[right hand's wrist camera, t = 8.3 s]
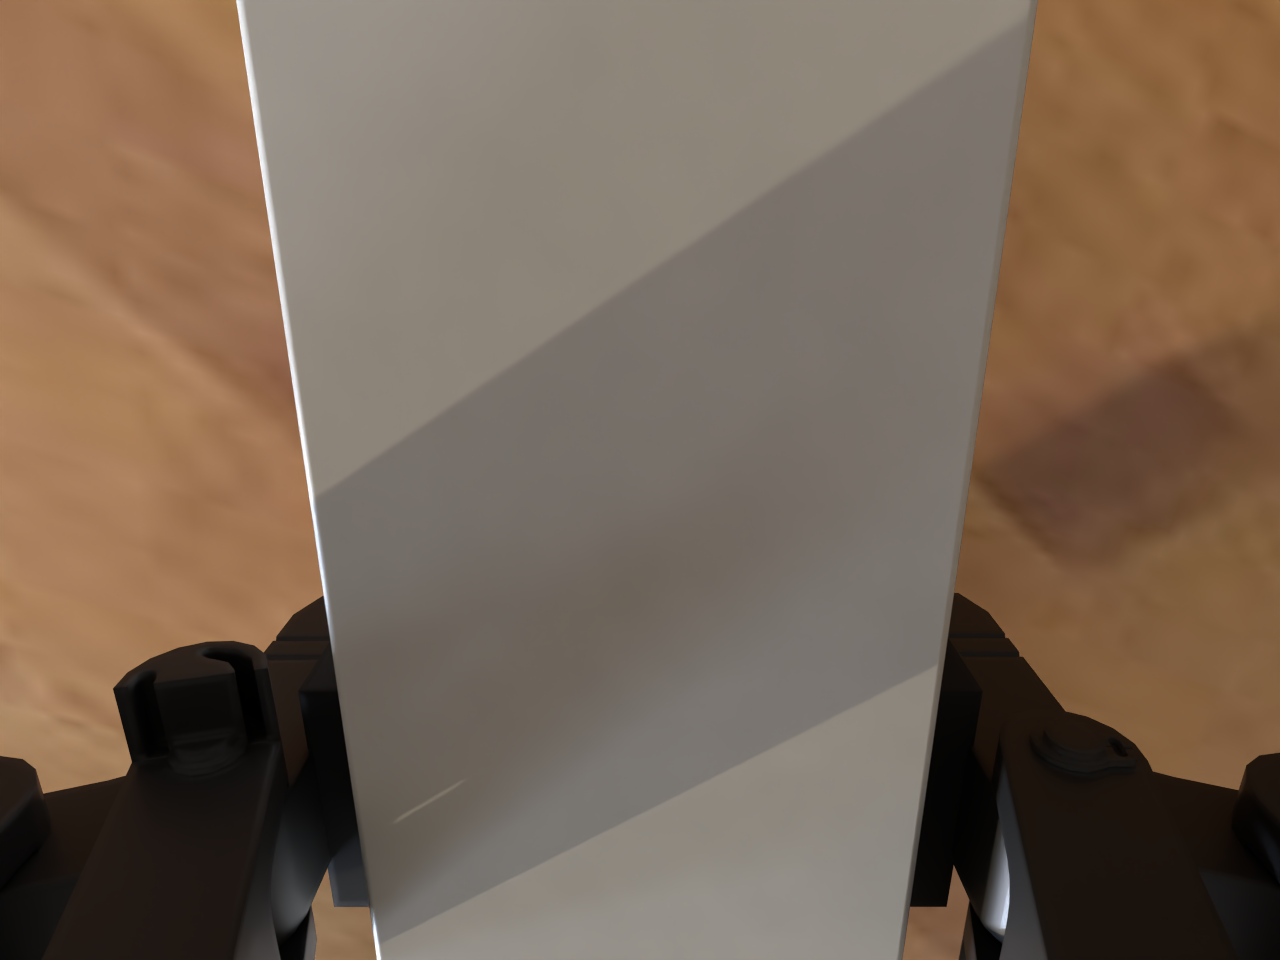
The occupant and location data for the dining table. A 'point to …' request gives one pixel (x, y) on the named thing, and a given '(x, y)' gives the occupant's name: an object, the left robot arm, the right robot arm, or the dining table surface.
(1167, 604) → the dining table surface
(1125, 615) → the dining table surface
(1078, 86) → the dining table surface
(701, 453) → the post
